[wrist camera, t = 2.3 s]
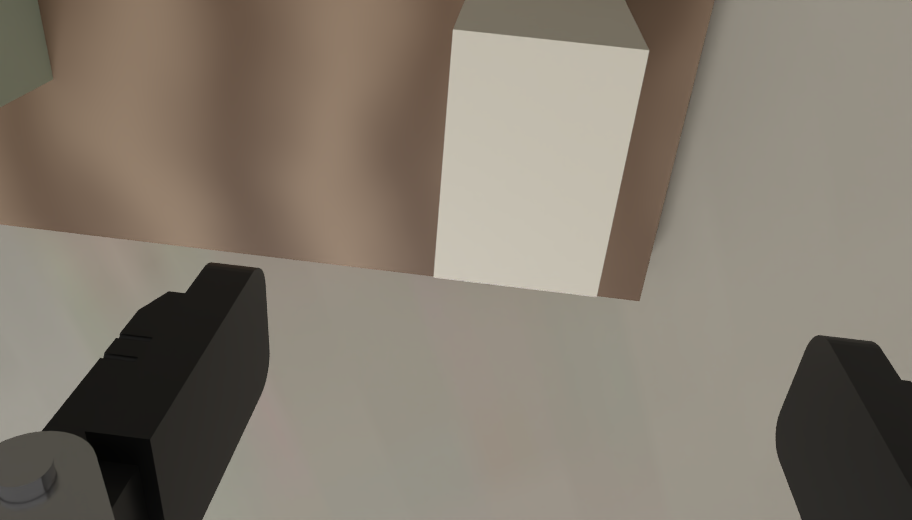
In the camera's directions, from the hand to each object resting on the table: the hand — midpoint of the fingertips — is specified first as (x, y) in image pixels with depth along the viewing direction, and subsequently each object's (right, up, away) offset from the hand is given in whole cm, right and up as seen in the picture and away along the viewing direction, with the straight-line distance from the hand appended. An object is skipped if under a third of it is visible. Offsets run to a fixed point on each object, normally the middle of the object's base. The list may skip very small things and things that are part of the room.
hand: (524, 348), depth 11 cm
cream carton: (+1, +7, +12) cm, 15 cm away
